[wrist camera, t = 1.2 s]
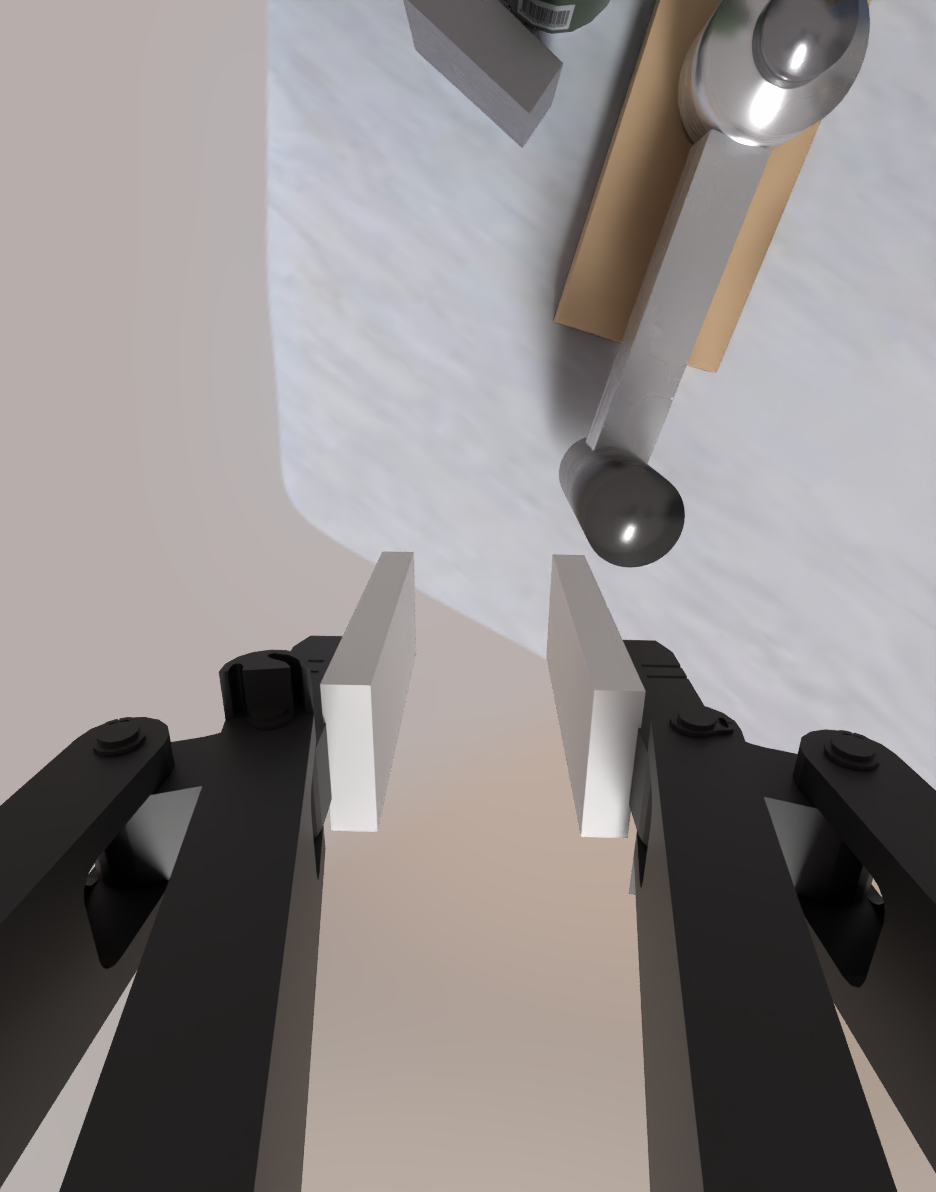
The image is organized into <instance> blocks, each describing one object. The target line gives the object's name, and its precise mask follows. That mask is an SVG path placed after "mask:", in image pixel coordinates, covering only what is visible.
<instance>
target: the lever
mask: <svg viewBox="0 0 936 1192" xmlns="http://www.w3.org/2000/svg"><path fill="white" fill-rule="evenodd" d="M768 1H769V0H722V1H721V3H720V4H719V6H718V7H717V8H716V10H715V11H714V13H713V14H712V15H711V17H710V18H709V20H708V21H707V22H706V24H705V25H704V27H703V28H702V30H701V31H700V32H699V34H698V35H697V37H696V38H695V40H694V41H693V43H692V45H691V46H690V48H689V50H688V52H687V55H686V57H685V60H684V62H683V65H682V69H681V72H680V78H679V84H678V105H679V111H680V116H681V119H682V123H683V125H684V128H685V130H686V132H687V134H688V135H689V137H690V139H691V140H692V141H693V143H694V145H693V146H692V147H691V148H690V151H689V154H688V157H687V160H686V162H685V165H684V168H683V171H682V174H681V176H680V179H679V182H678V185H677V187H676V190H675V193H674V196H673V199H672V201H671V204H670V207H669V210H668V213H667V215H666V218H665V221H664V224H663V227H662V229H661V232H660V235H659V238H658V240H657V243H656V246H655V249H654V252H653V254H652V257H651V260H650V263H649V266H648V268H647V271H646V274H645V277H644V280H643V282H642V285H641V288H640V291H639V293H638V296H637V299H636V302H635V305H634V307H633V310H632V313H631V316H630V319H629V321H628V324H627V327H626V330H625V333H624V335H623V338H622V341H621V344H620V346H619V349H618V352H617V355H616V358H615V360H614V363H613V366H612V369H611V372H610V374H609V377H608V380H607V383H606V386H605V388H604V391H603V394H602V397H601V399H600V402H599V405H598V408H597V411H596V413H595V416H594V419H593V422H592V425H591V427H590V430H589V433H588V436H587V437H586V438H583V439H581V440H579V441H578V442H576V443H575V444H573V445H572V446H571V447H570V448H569V449H568V451H567V452H566V453H565V455H564V457H563V459H562V461H561V464H560V469H559V480H560V484H561V487H562V490H563V492H564V494H565V496H566V498H567V500H568V502H569V504H570V506H571V508H572V510H573V512H574V514H575V515H576V517H577V519H578V521H579V523H580V525H581V527H582V529H583V531H584V533H585V535H586V537H587V539H588V541H589V543H590V545H591V547H592V548H593V550H594V551H595V552H596V553H597V554H598V555H599V556H600V557H601V558H603V559H604V560H605V561H607V562H609V563H611V564H614V565H617V566H621V567H639V566H644V565H648V564H650V563H653V562H655V561H657V560H658V559H660V558H661V557H663V556H664V555H665V554H667V553H668V552H669V551H670V550H671V549H672V547H673V546H674V545H675V543H676V542H677V541H678V539H679V537H680V535H681V532H682V529H683V525H684V518H685V512H684V505H683V501H682V499H681V496H680V494H679V492H678V491H677V490H676V488H675V487H674V486H673V485H672V484H671V483H670V482H669V481H668V480H667V479H665V478H664V477H663V476H662V475H660V474H659V473H658V472H657V471H655V470H654V469H653V468H651V467H650V466H649V465H648V464H647V463H648V461H649V458H650V456H651V453H652V451H653V448H654V446H655V443H656V441H657V438H658V436H659V433H660V431H661V428H662V426H663V423H664V421H665V418H666V416H667V413H668V411H669V408H670V406H671V403H672V401H673V398H674V395H675V393H676V390H677V388H678V385H679V383H680V380H681V378H682V375H683V373H684V370H685V368H686V365H687V363H688V360H689V358H690V355H691V353H692V350H693V348H694V345H695V343H696V340H697V338H698V335H699V333H700V330H701V328H702V325H703V322H704V320H705V317H706V315H707V312H708V310H709V307H710V305H711V302H712V300H713V297H714V295H715V292H716V290H717V287H718V285H719V282H720V280H721V277H722V275H723V272H724V270H725V267H726V265H727V262H728V260H729V257H730V255H731V252H732V249H733V247H734V244H735V242H736V239H737V237H738V234H739V232H740V229H741V227H742V224H743V222H744V219H745V217H746V214H747V212H748V209H749V207H750V204H751V202H752V199H753V197H754V194H755V192H756V189H757V187H758V184H759V182H760V179H761V176H762V174H763V171H764V169H765V166H766V164H767V161H768V159H769V156H770V154H771V152H772V151H773V150H775V149H776V148H778V147H779V146H781V145H783V144H784V143H786V142H787V141H789V140H790V139H792V138H794V137H795V136H797V135H798V134H800V133H801V132H803V131H805V130H806V129H808V128H809V127H811V126H812V125H814V124H815V123H817V122H818V121H820V120H821V119H823V118H824V117H825V116H826V115H828V114H829V113H830V112H831V111H832V110H833V109H834V108H835V107H836V106H837V105H838V104H839V103H840V102H841V100H842V99H843V98H844V96H845V95H846V94H847V93H848V91H849V89H850V88H851V86H852V84H853V83H854V81H855V79H856V77H857V75H858V73H859V71H860V68H861V65H862V63H863V60H864V57H865V53H866V49H867V45H868V38H869V26H870V18H869V7H868V2H867V0H858V2H859V17H858V23H857V27H856V31H855V34H854V36H853V39H852V41H851V43H850V45H849V46H848V48H847V50H846V51H845V53H844V54H843V55H842V56H841V57H840V59H839V60H838V61H837V62H836V63H834V64H833V65H832V66H831V67H830V68H828V69H827V70H826V71H824V72H823V73H822V74H821V75H819V76H818V77H817V78H815V79H814V80H813V81H811V82H810V83H808V84H806V85H804V86H801V87H799V88H794V89H781V88H778V87H775V86H773V85H771V84H769V83H768V82H767V81H766V80H764V79H763V77H762V76H761V75H760V74H759V72H758V70H757V68H756V66H755V63H754V59H753V54H752V36H753V31H754V27H755V24H756V21H757V19H758V17H759V15H760V13H761V11H762V9H763V8H764V7H765V5H766V4H767V3H768Z"/></svg>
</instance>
